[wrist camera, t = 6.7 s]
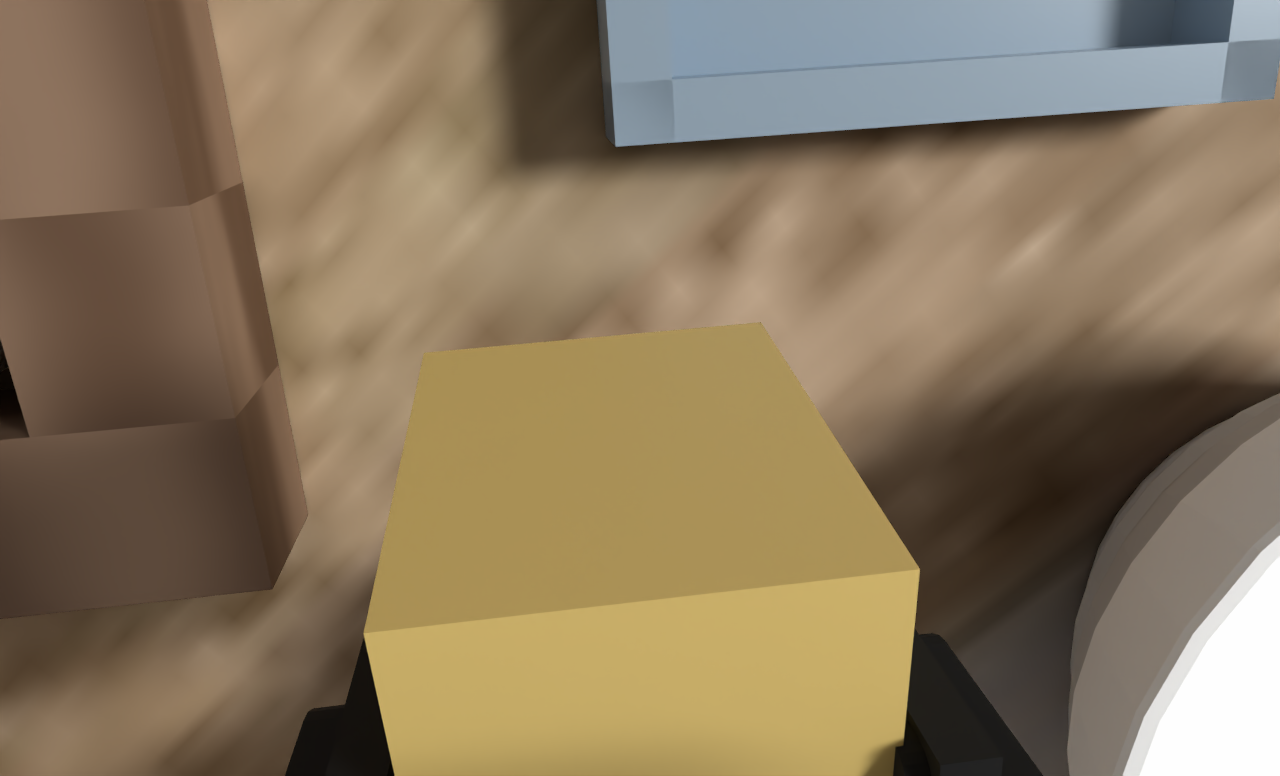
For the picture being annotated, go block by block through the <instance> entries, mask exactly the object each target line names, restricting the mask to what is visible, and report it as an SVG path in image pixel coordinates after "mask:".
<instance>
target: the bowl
mask: <svg viewBox="0 0 1280 776" xmlns="http://www.w3.org/2000/svg"><path fill="white" fill-rule="evenodd" d="M1070 667H1071V676H1072V679H1071V687H1070V696H1069V705H1068V733H1069V738H1068V746H1067V758H1068V766H1069V775H1070V776H1280V393H1279V394H1277V395H1274V396H1272V397H1270V398H1268V399H1266V400H1264V401H1262V402H1260V403H1257V404H1255V405H1253V406H1251V407H1249V408H1247V409H1245V410H1243V411H1241V412H1239V413H1238V414H1236V415H1235V416H1233V417H1232V418H1230V419H1228V420H1225V421H1223V422H1221V423H1219V424H1217V425H1215V426H1213V427H1211V428H1209V429H1207V430H1205V431H1204V432H1202V433H1201V434H1199V435H1198V436H1196V437H1195V438H1193V439H1192V440H1191V441H1189V442H1188V443H1186V444H1185V445H1183V446H1182V447H1180V448H1179V449H1177V450H1176V451H1174V452H1173V453H1172V454H1171V455H1170V456H1169V457H1168V458H1166V459H1165V460H1164V461H1163V462H1162V463H1161V464H1160V465H1159V466H1158V467H1157V468H1156V469H1155V470H1154V471H1153V472H1152V473H1150V474H1149V475H1148V476H1147V477H1146V478H1145V479H1144V480H1143V481H1142V482H1141V483H1140V485H1139V486H1138V487H1137V488H1136V490H1135V491H1134V492H1133V494H1132V495H1131V496H1130V497H1129V499H1128V500H1127V501H1126V503H1125V504H1124V505H1123V506H1122V508H1121V509H1120V510H1119V512H1118V513H1117V515H1116V516H1115V518H1114V520H1113V522H1112V524H1111V526H1110V527H1109V529H1108V531H1107V533H1106V535H1105V537H1104V539H1103V540H1102V542H1101V544H1100V546H1099V548H1098V551H1097V554H1096V557H1095V560H1094V563H1093V566H1092V569H1091V572H1090V576H1089V579H1088V582H1087V587H1086V590H1085V593H1084V596H1083V599H1082V602H1081V605H1080V608H1079V611H1078V614H1077V617H1076V620H1075V628H1074V637H1073V645H1072V654H1071V663H1070Z"/></svg>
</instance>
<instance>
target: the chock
mask: <svg viewBox="0 0 1280 776" xmlns="http://www.w3.org/2000/svg"><path fill="white" fill-rule="evenodd" d="M919 575H920V568H919V567H918V565H917V564H916V562H915V561H914V559H913V558H912V556H911V555H910V553H909V551H908V550H907V548H906V547H905V545H904V544H903V542H902V541H901V539H900V537H899V536H898V534H897V533H896V531H895V530H894V528H893V527H892V525H891V524H890V522H889V520H888V519H887V517H886V516H885V514H884V513H883V511H882V510H881V508H880V507H879V505H878V503H877V502H876V500H875V499H874V497H873V496H872V494H871V493H870V491H869V489H868V488H867V486H866V485H865V483H864V482H863V480H862V479H861V477H860V476H859V474H858V472H857V471H856V469H855V468H854V466H853V465H852V463H851V462H850V460H849V458H848V457H847V455H846V454H845V452H844V451H843V449H842V448H841V446H840V445H839V443H838V441H837V440H836V438H835V437H834V435H833V434H832V432H831V431H830V429H829V427H828V426H827V424H826V423H825V421H824V420H823V418H822V417H821V415H820V414H819V412H818V410H817V409H816V407H815V406H814V404H813V403H812V401H811V400H810V398H809V397H808V395H807V393H806V392H805V390H804V389H803V387H802V386H801V384H800V383H799V381H798V379H797V378H796V376H795V375H794V373H793V372H792V370H791V369H790V367H789V366H788V364H787V362H786V361H785V359H784V358H783V356H782V355H781V353H780V352H779V350H778V348H777V347H776V345H775V344H774V342H773V341H772V339H771V338H770V336H769V335H768V333H767V331H766V330H765V328H764V327H763V325H762V324H761V322H760V323H749V324H738V325H727V326H715V327H704V328H693V329H682V330H671V331H660V332H649V333H638V334H627V335H616V336H605V337H594V338H583V339H572V340H561V341H550V342H539V343H528V344H517V345H506V346H495V347H484V348H473V349H462V350H451V351H439V352H428V353H424V356H423V360H422V365H421V370H420V374H419V379H418V383H417V388H416V393H415V397H414V402H413V407H412V411H411V416H410V420H409V425H408V430H407V434H406V439H405V444H404V448H403V453H402V457H401V462H400V467H399V471H398V476H397V481H396V485H395V490H394V494H393V499H392V504H391V508H390V513H389V518H388V522H387V527H386V532H385V536H384V541H383V545H382V550H381V555H380V559H379V564H378V569H377V573H376V578H375V582H374V587H373V592H372V596H371V601H370V606H369V610H368V615H367V619H366V624H365V629H364V638H365V643H366V647H367V652H368V656H369V661H370V665H371V670H372V675H373V679H374V684H375V688H376V693H377V697H378V702H379V706H380V711H381V716H382V720H383V725H384V729H385V734H386V738H387V743H388V748H389V752H390V757H391V761H392V766H393V770H394V775H395V776H893V770H894V759H895V747H898V746H903V743H904V732H905V722H906V711H907V701H908V690H909V680H910V669H911V659H912V648H913V638H914V627H915V617H916V606H917V596H918V585H919Z"/></svg>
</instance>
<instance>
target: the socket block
mask: <svg viewBox="0 0 1280 776" xmlns="http://www.w3.org/2000/svg"><path fill="white" fill-rule="evenodd" d="M0 339H1V343H2V346H3V349H4V353H5V356H6V359H7V363H8V366H9V370H10V373H11V376H12V380H13V383H14V386H15V388H13V389H2V390H0V619H3V618H12V617H22V616H31V615H40V614H49V613H58V612H68V611H77V610H86V609H95V608H104V607H114V606H123V605H132V604H141V603H150V602H160V601H169V600H178V599H187V598H196V597H206V596H215V595H224V594H233V593H242V592H252V591H261V590H270V589H273V587H274V585H275V583H276V581H277V579H278V576H279V574H280V572H281V570H282V568H283V566H284V564H285V562H286V560H287V558H288V556H289V554H290V552H291V549H292V547H293V545H294V543H295V541H296V539H297V537H298V535H299V533H300V531H301V529H302V527H303V525H304V522H305V520H306V518H307V516H308V512H307V507H306V501H305V496H304V491H303V486H302V481H301V476H300V471H299V466H298V461H297V456H296V451H295V446H294V441H293V435H292V430H291V425H290V420H289V415H288V410H287V405H286V400H285V395H284V390H283V385H282V380H281V375H280V370H279V364H278V359H277V354H276V349H275V344H274V339H273V334H272V329H271V324H270V319H269V314H268V309H267V304H266V299H265V293H264V288H263V283H262V278H261V273H260V268H259V263H258V258H257V253H256V248H255V243H254V238H253V233H252V228H251V222H250V217H249V212H248V207H247V202H246V197H245V192H244V187H243V182H242V177H241V172H240V167H239V162H238V156H237V151H236V146H235V141H234V136H233V131H232V126H231V121H230V116H229V111H228V106H227V101H226V96H225V91H224V85H223V80H222V75H221V70H220V65H219V60H218V55H217V50H216V45H215V40H214V35H213V30H212V25H211V20H210V14H209V9H208V4H207V0H0Z"/></svg>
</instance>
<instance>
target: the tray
mask: <svg viewBox="0 0 1280 776" xmlns="http://www.w3.org/2000/svg"><path fill="white" fill-rule="evenodd" d="M596 2H597V16H598V30H599V45H600V59H601V73H602V87H603V101H604V115H605V130H606V137H607V138H608V140H609V141H610V142H611V143H612V144H613V145H614V146H615V147H620V146H633V145H647V144H661V143H674V142H688V141H702V140H716V139H729V138H743V137H757V136H770V135H784V134H798V133H812V132H825V131H839V130H853V129H866V128H880V127H894V126H908V125H921V124H935V123H949V122H962V121H976V120H990V119H1003V118H1017V117H1031V116H1045V115H1058V114H1072V113H1086V112H1099V111H1113V110H1127V109H1141V108H1154V107H1168V106H1182V105H1195V104H1209V103H1223V102H1237V101H1250V100H1264V99H1274V94H1275V87H1276V81H1277V75H1278V68H1279V62H1280V0H596Z"/></svg>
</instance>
